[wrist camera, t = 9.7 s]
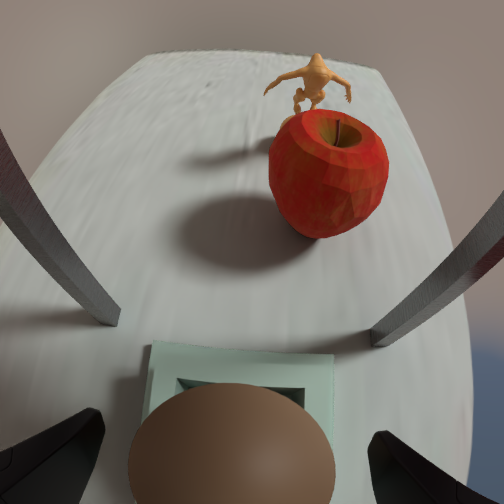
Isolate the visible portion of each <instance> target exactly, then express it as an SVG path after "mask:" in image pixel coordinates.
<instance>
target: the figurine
mask: <svg viewBox="0 0 504 504" xmlns="http://www.w3.org/2000/svg"><path fill="white" fill-rule="evenodd" d="M297 77H303V80H304V85H305V89H304V91H303V90H302V88H298V89H297V90H296V94H295V95H294V97H293V100H294V104H295V105H294V112H295V113H296V114H297V113H300V112H301V108H300V105H299V104H298V103H299V102H302V101H304V100H305V98H309V99H310V100H311V102H312V106H311V108H310V110H314V109H317V108H316V104H318V103H320V102H321V101H322V100H323V99H324V98H325V91H324V90H321V89H322V88H323V87H324V86H325V85H326V84H327V83H328V82H329V81H330V80H333V81H335V82H337V83H339V84H341V85H343V86H345V89H346V94H347V95H345V96H347V98H346V100H347V99H348V101H347V102H349V101H350V102H351V90H350V89H351V86H350V84H349V83H348V82H347V81H346V80H344V79H343V78H341V77H339V76H338V75H337V74H335V73H334V72H332V71H331V70H329V69H328V68H327V67H326V65H325V64H324V62H323V59H322V57H321V55H320V54H317V53H316V54H314V55H313V56H312V58H311V60H310V62H309V64H308V65H307V66H306V67H304V68H301V69H298V70H296V71H293V72H289V73H286V74H283V75H281V76H279V77H278V78H277V79H276V80H275V81H274V82H272V83H271V84H270V85H269V86H268V87H267V88H266V90H265V92H264V96H265V94H266V93H267V92H268V90H270V89H271V88H274V87H275V86H277V85H278V84H279V83H280V82H281V81H282V80H288V79H292V78H297ZM350 102H349V103H350ZM293 116H294V115H292V116H290V117H288V118H286V119H285V120H284V121H283V123H282V124H281V127H280V129H281V128H282V127H283V126H284V124H285V123H286V122H287V121H289V120H290V119H291V118H292V117H293Z"/></svg>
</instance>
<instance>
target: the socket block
mask: <svg viewBox="0 0 504 504" xmlns="http://www.w3.org/2000/svg"><path fill="white" fill-rule="evenodd" d="M215 383H242V384H250V385H254V386H258V387H263V388H266V389H269V390H271V391H274V392H277V393H279V394H281V395H283V396H285V397H287V398H289V399H290V400H292V401H293V402H295V403H296V404H298V405H299V406H301V407H302V408H303V409H304V410H305V411H307V412H308V413H309V414H310V415H311V416H312V417H313V419H314V420H315V421H316V422H317V423H318V424H319V426H320V427H321V429H322V430H323V432H324V433H325V435H326V437H327V439H328V441H329V443H330V446H331V449H332V452H333V429H334V354H302V353H277V352H260V351H246V350H234V349H222V348H212V347H203V346H194V345H186V344H178V343H171V342H164V341H157V340H153V343H152V349H151V355H150V361H149V367H148V374H147V380H146V387H145V394H144V402H143V410H142V418H141V425H142V423H143V422H144V420H145V419H146V418H147V417H148V416H149V415H150V414H151V412H152V411H153V410H155V409H156V408H157V407H158V406H159V405H161V404H162V403H163V402H165V401H166V400H168V399H169V398H171V397H173V396H175V395H177V394H179V393H181V392H183V391H186V390H189V389H192V388H194V387H198V386H203V385H207V384H215ZM135 504H137V502H136V500H135Z"/></svg>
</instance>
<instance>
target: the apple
mask: <svg viewBox="0 0 504 504" xmlns="http://www.w3.org/2000/svg"><path fill="white" fill-rule="evenodd" d="M388 171H389V160H388V156H387V152H386V149H385V146H384V144H383V142H382V140H381V138H380V137H379V136H378V135H377V134H376V133H375V132H374V131H373V130H372V129H371V128H370V127H368V126H367V125H365V124H364V123H362V122H361V121H359V120H357V119H355V118H353V117H351V116H349V115H347V114H345V113H342V112H337V111H333V110H324V109H314V110H308V111H304V112H301V113H297V114H296V115H294V116H293V117H292V118H291V119H290V120H289V121H287V122H286V123H285V124H284V126H283V127H282V128H281V129H280V130H279V132H278V133H277V135H276V137H275V139H274V141H273V143H272V145H271V147H270V149H269V185H270V188H271V191H272V193H273V196H274V198H275V201H276V203H277V206H278V208H279V211H280V213H281V214H282V215H283V216H284V218H285V219H286V220H287V222H288V223H289V224H290V225H291V226H292V227H293V228H294V229H295V230H296V231H298V232H299V233H300V234H302V235H304V236H306V237H310V238H316V239H317V238H328V237H332V236H336V235H338V234H341V233H344V232H346V231H348V230H350V229H352V228H354V227H355V226H357V225H359V224H360V223H361V222H363V221H364V220H365V219H367V218H368V217H369V216H370V214H371V213H372V212H373V211H374V210H375V209H376V208H377V206H378V205H379V204H380V202H381V199H382V196H383V193H384V189H385V186H386V183H387V179H388Z"/></svg>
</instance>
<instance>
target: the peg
mask: <svg viewBox="0 0 504 504" xmlns="http://www.w3.org/2000/svg"><path fill="white" fill-rule="evenodd" d="M128 475H129V481H130V487H131V490H132V493H133V496H134V498H135V500H136V502H137V504H329V502H330V500H331V497H332V494H333V490H334V485H335V477H336V476H335V461H334V456H333V452H332V449H331V446H330V443H329V441H328V439H327V437H326V435H325V433H324V432H323V430H322V429H321V427H320V426H319V424H318V423H317V422H316V421H315V420H314V419H313V417H312V416H311V415H310V414H309V413H308V412H307V411H305V410H304V409H303V408H302V407H301V406H299V405H298V404H296V403H295V402H293V401H292V400H290V399H289V398H287V397H285V396H283V395H281V394H279V393H277V392H274V391H271V390H269V389H266V388H263V387H258V386H254V385H250V384H242V383H215V384H207V385H203V386H198V387H194V388H192V389H189V390H186V391H183V392H181V393H179V394H177V395H175V396H173V397H171V398H169V399H168V400H166V401H165V402H163V403H162V404H161V405H159V406H158V407H157V408H156V409H155V410H153V411H152V412H151V414H150V415H149V416H148V417H147V418H146V419H145V420H144V422H143V423H142V425H141V426H140V428H139V429H138V431H137V433H136V435H135V437H134V440H133V442H132V446H131V449H130V453H129V460H128Z"/></svg>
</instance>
